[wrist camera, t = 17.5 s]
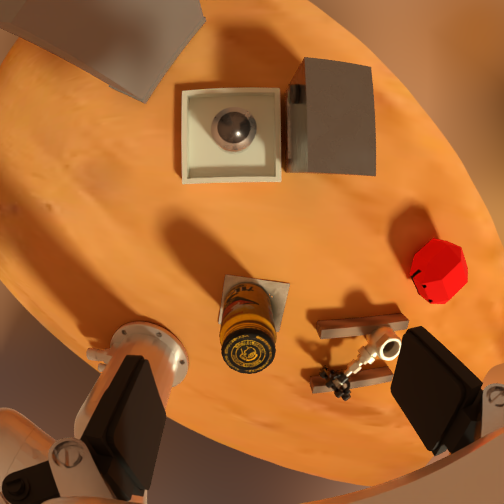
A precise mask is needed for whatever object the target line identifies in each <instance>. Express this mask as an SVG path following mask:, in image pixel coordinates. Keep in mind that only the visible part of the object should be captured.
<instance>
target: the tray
mask: <svg viewBox="0 0 504 504" xmlns="http://www.w3.org/2000/svg"><path fill="white" fill-rule="evenodd" d="M229 107H239V108H243V109H245V110H247V111H248V112H249V113H251V114H252V116H253V117H254V119H255V121H256V125H257V132H256V135H255V138H254V139H253V141H252V143H251V145H250V146H249V148H248V149H247V150H245V151H244V152H242V153H239V154H229V153H226V152H224V151H222V150H221V149H220V148H219V147H218V146H217V144H216V142H215V140H214V138H213V136H212V133H211V125H212V121H213V119H214V117H215V116H216V115H217V114H218V113H219V112H220V111H222V110H223V109H226V108H229ZM181 142H182V184H196V183H223V182H281V111H280V88H256V87H247V88H214V89H199V90H187V91H182V129H181Z"/></svg>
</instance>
